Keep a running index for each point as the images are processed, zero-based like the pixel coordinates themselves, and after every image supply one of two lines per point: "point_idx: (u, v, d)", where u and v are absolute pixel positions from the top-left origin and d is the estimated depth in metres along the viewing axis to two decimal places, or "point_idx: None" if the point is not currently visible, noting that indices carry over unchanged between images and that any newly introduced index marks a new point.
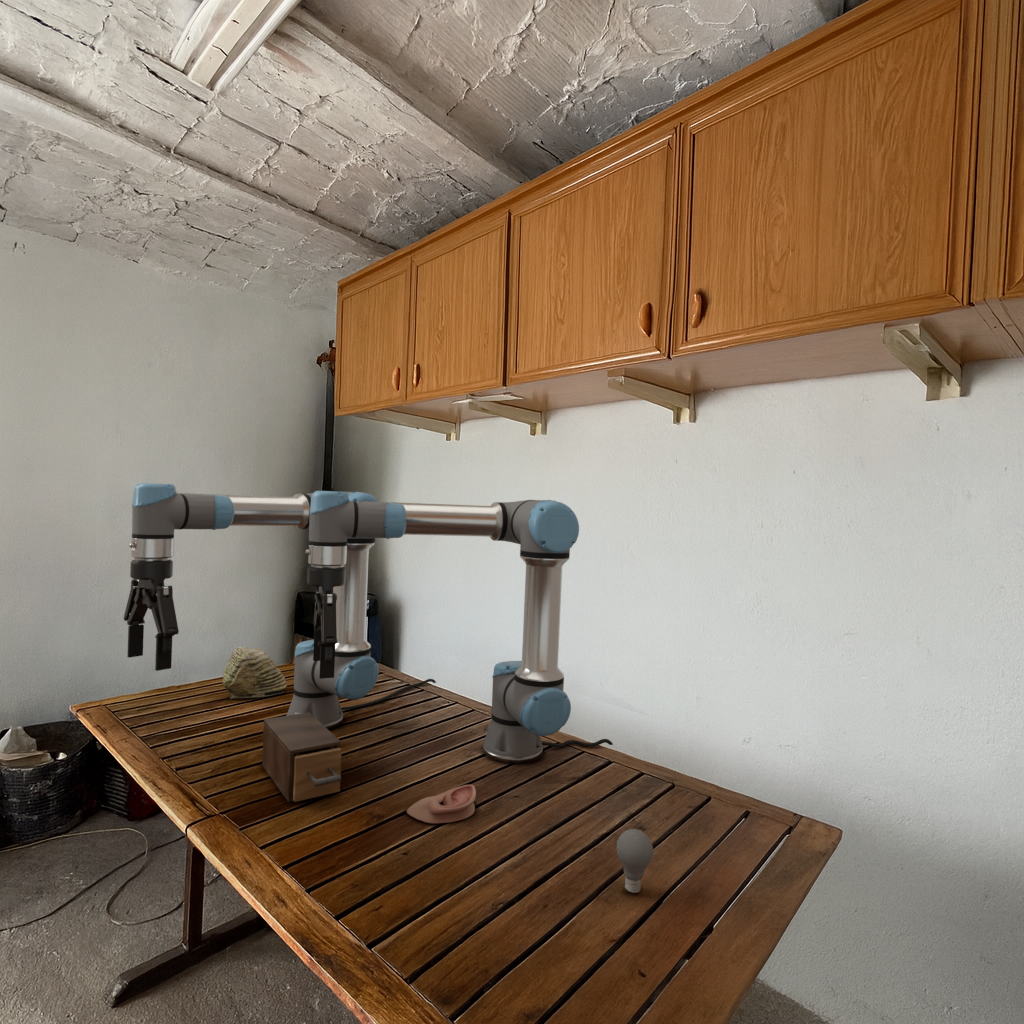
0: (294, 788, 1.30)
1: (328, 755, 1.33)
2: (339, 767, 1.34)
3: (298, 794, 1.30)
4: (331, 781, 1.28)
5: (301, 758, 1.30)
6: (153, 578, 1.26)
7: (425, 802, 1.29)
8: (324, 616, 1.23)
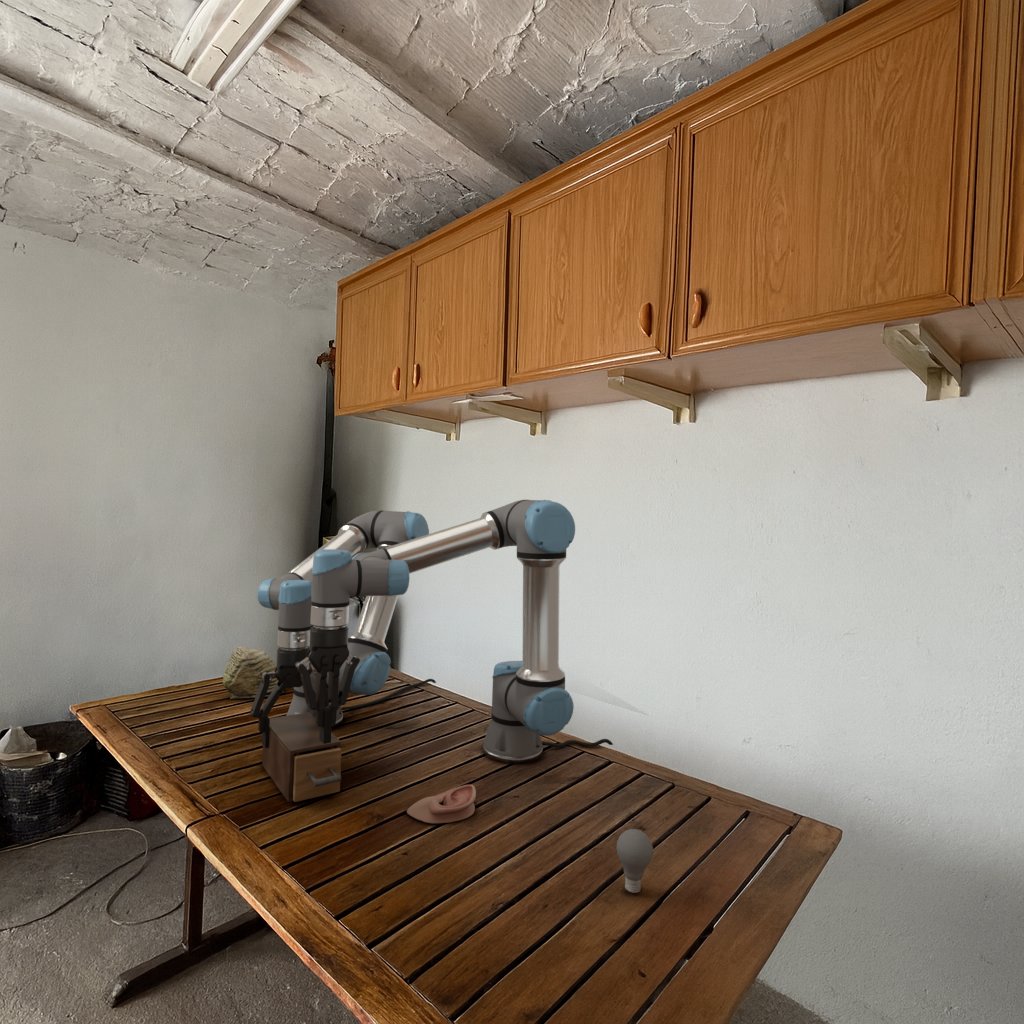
0: (294, 788, 1.30)
1: (328, 755, 1.33)
2: (339, 767, 1.34)
3: (298, 794, 1.30)
4: (331, 781, 1.28)
5: (301, 758, 1.30)
6: None
7: (425, 802, 1.29)
8: None
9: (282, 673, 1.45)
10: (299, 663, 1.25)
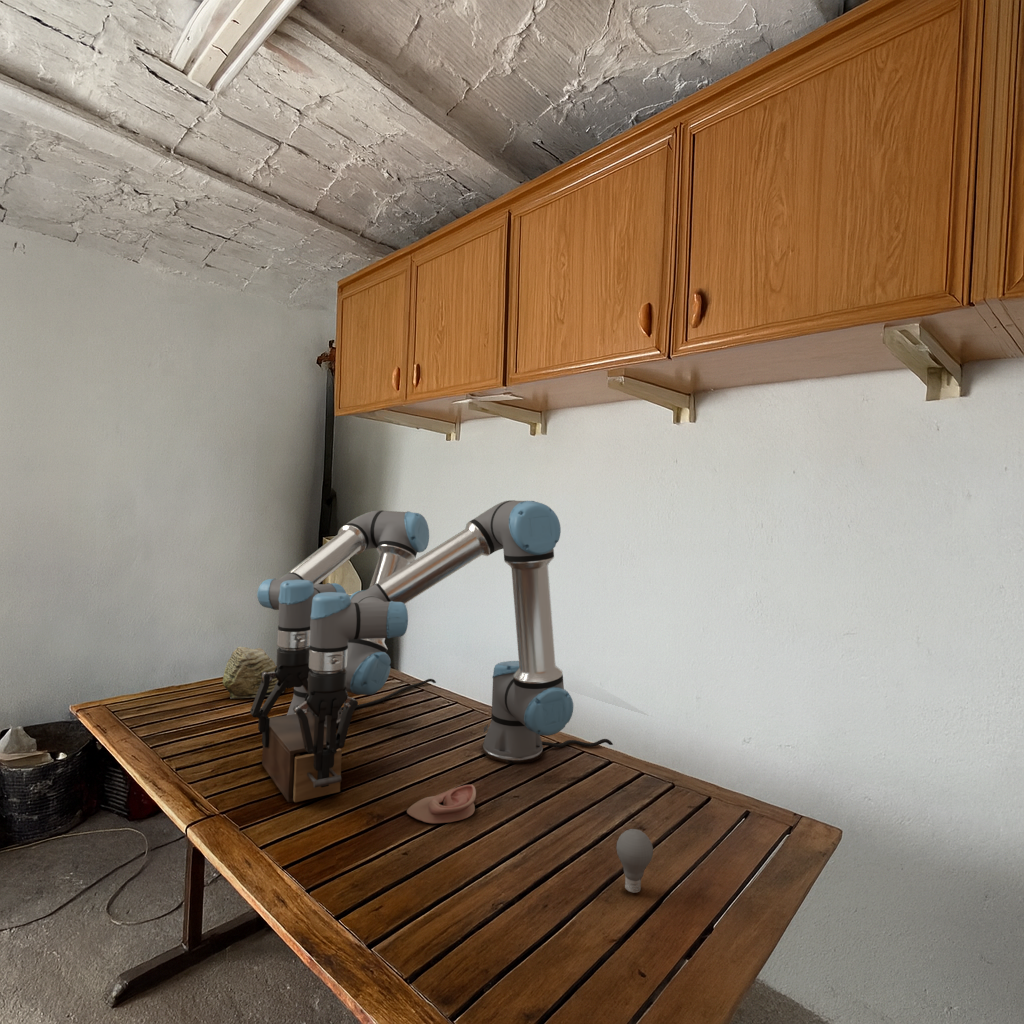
0: (294, 788, 1.29)
1: None
2: (340, 768, 1.34)
3: (298, 795, 1.29)
4: (331, 782, 1.27)
5: (301, 758, 1.29)
6: None
7: (425, 802, 1.29)
8: None
9: (282, 673, 1.45)
10: (297, 707, 1.25)
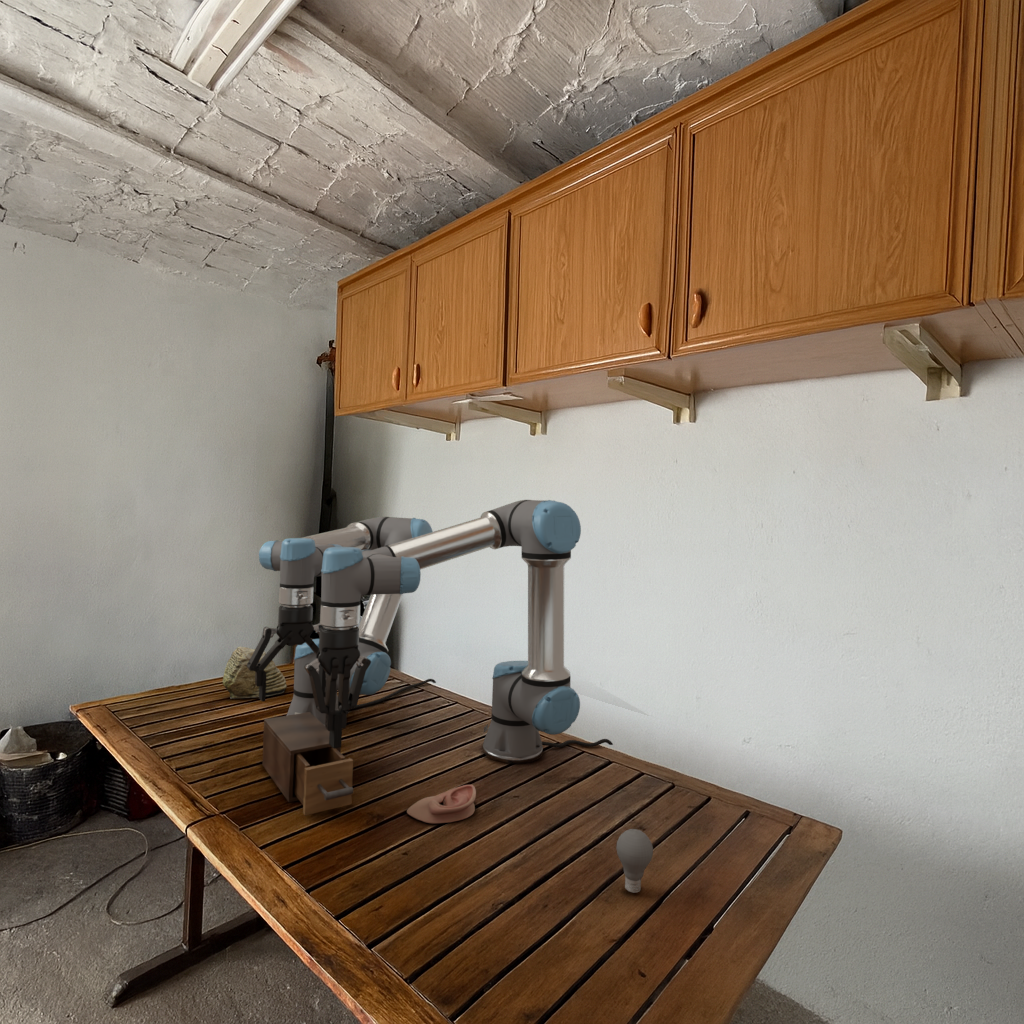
0: (304, 801, 1.24)
1: (339, 766, 1.28)
2: (351, 779, 1.29)
3: (308, 807, 1.24)
4: (343, 794, 1.22)
5: (311, 770, 1.24)
6: None
7: (425, 802, 1.29)
8: None
9: (284, 630, 1.45)
10: (308, 665, 1.21)
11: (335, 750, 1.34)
